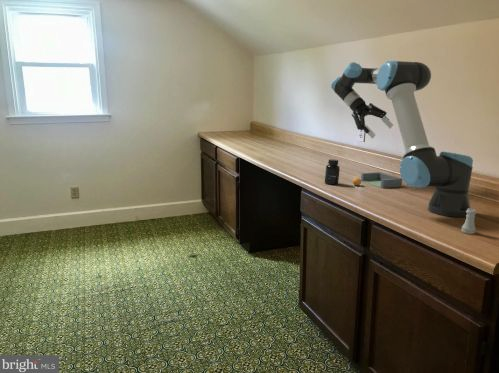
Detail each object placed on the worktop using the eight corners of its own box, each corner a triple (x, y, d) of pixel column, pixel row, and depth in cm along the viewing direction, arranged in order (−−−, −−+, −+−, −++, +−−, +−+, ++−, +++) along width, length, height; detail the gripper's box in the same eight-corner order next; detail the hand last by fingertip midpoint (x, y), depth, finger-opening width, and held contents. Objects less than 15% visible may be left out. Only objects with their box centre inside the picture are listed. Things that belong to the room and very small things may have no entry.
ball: (360, 186, 200) (360, 178, 199) (351, 185, 202) (352, 177, 201) (361, 185, 204) (362, 177, 203) (353, 184, 205) (353, 176, 205)
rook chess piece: (458, 229, 141) (461, 207, 139) (472, 230, 140) (475, 207, 139) (463, 233, 137) (467, 210, 135) (477, 234, 136) (481, 211, 134)
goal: (382, 188, 199) (383, 180, 198) (360, 180, 214) (361, 173, 213) (401, 186, 203) (402, 178, 202) (378, 179, 218) (379, 172, 217)
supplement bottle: (331, 185, 201) (332, 161, 198) (321, 182, 207) (323, 159, 204) (341, 184, 204) (343, 160, 202) (331, 181, 210) (333, 158, 207)
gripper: (367, 99, 219) (394, 127, 213) (335, 115, 208) (362, 145, 201) (374, 89, 213) (402, 118, 206) (341, 105, 202) (369, 136, 195)
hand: (383, 131), depth 204 cm, fingers open, 13 cm apart
